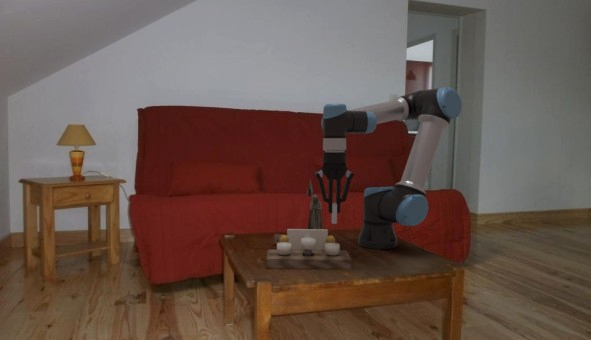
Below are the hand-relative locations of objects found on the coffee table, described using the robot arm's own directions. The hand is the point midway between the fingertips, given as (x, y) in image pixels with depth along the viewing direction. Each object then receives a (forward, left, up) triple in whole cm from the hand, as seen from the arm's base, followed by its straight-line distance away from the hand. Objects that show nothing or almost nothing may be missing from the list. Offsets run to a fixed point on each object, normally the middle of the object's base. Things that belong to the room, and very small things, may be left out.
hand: (334, 222), depth 141 cm
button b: (+8, 0, -11) cm, 14 cm away
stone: (+15, -22, -14) cm, 30 cm away
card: (+8, -6, -14) cm, 17 cm away
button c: (+16, 0, -13) cm, 21 cm away
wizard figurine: (+4, -37, -14) cm, 40 cm away
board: (+8, 0, -14) cm, 16 cm away
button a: (0, 0, -13) cm, 13 cm away
